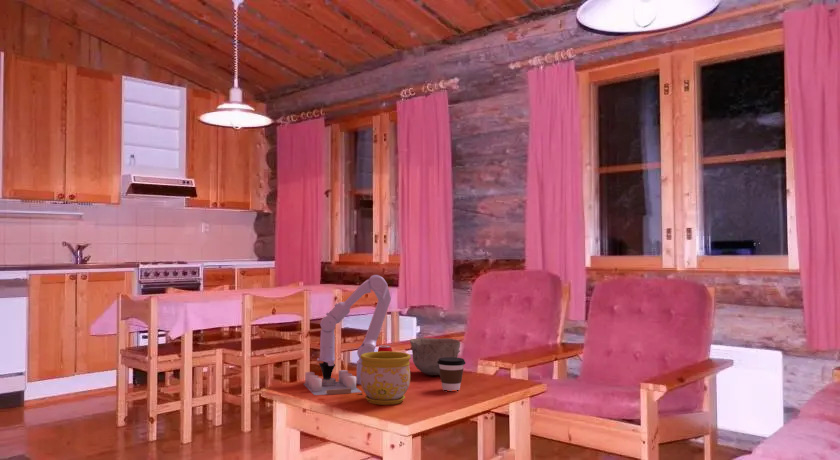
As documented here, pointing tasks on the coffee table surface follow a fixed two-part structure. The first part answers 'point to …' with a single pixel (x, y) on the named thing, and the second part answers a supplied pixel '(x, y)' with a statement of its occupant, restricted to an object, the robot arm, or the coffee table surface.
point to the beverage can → (384, 348)
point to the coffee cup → (451, 372)
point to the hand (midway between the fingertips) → (326, 381)
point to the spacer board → (342, 387)
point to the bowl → (432, 353)
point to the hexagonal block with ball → (328, 382)
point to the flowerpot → (385, 376)
